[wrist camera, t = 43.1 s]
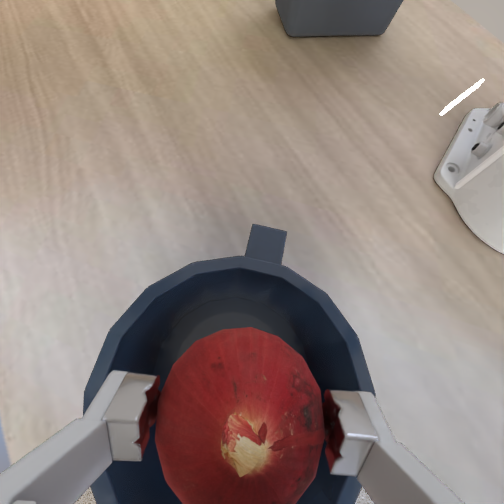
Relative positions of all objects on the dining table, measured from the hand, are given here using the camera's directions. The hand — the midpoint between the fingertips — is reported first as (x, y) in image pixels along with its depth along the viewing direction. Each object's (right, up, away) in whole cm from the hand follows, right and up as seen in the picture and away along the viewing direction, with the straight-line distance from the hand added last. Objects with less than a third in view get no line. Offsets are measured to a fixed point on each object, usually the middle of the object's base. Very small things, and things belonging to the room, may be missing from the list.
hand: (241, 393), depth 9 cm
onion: (0, -2, +4) cm, 5 cm away
